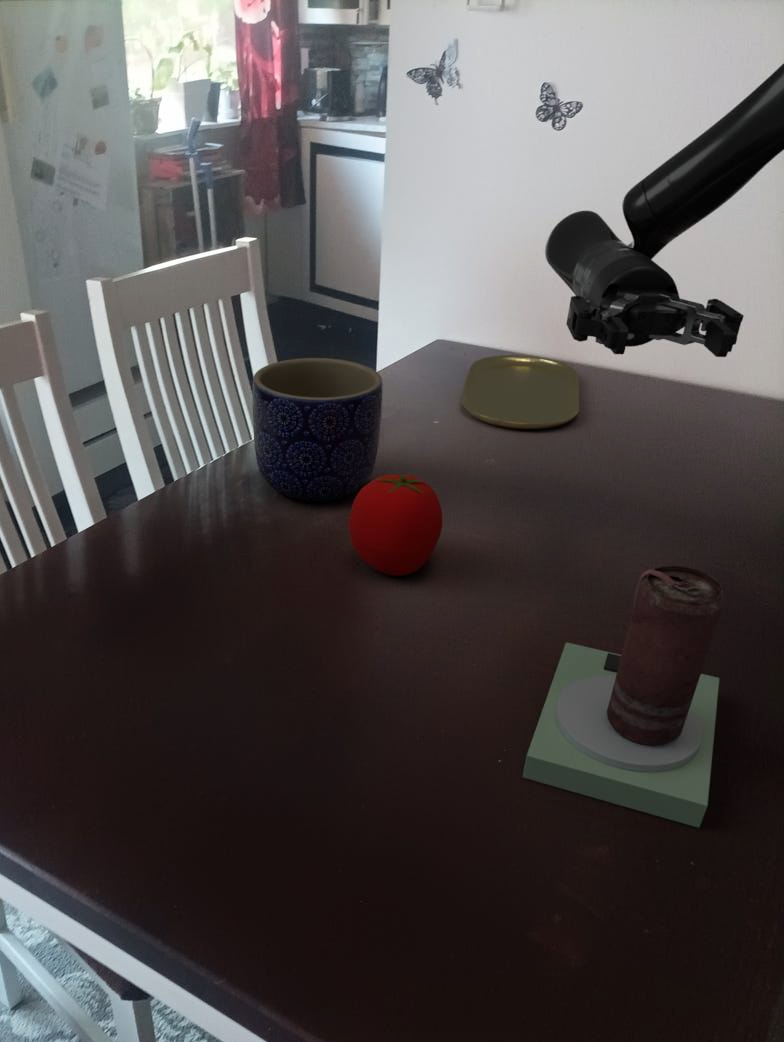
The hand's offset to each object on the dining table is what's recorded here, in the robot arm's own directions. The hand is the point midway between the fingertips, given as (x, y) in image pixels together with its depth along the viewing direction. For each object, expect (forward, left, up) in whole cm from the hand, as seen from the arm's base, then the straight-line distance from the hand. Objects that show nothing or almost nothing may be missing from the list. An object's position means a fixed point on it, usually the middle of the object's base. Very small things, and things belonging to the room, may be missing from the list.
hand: (674, 344), depth 75 cm
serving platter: (-39, -62, -30) cm, 80 cm away
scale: (+9, +12, -30) cm, 34 cm away
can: (+10, +15, -27) cm, 32 cm away
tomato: (+11, -23, -30) cm, 39 cm away
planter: (+9, -46, -30) cm, 55 cm away
